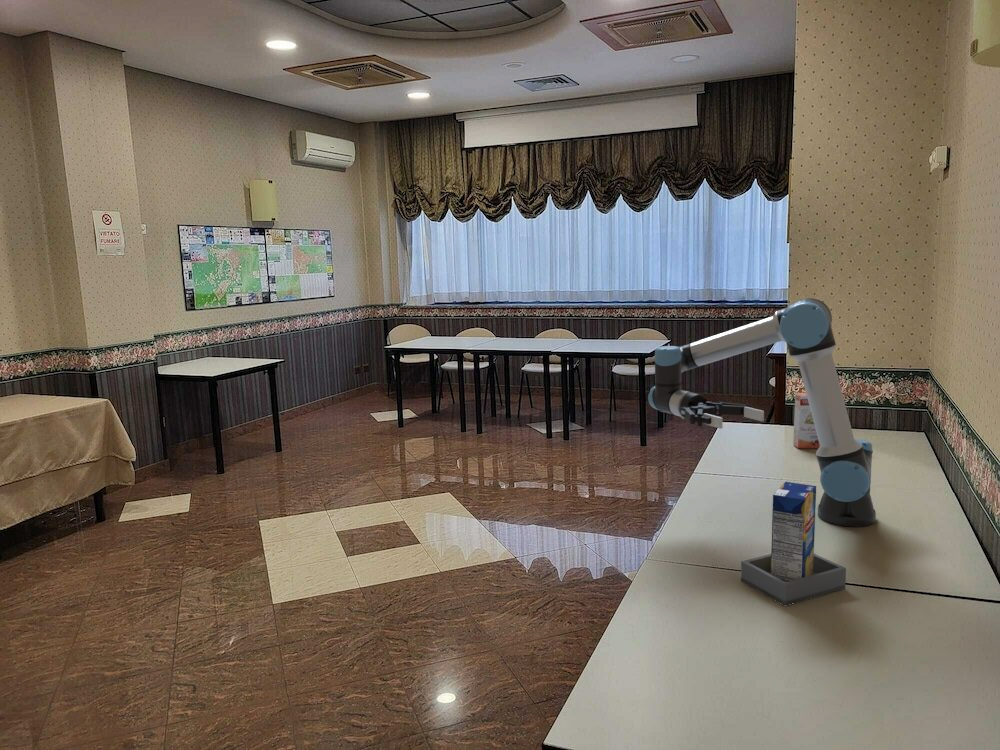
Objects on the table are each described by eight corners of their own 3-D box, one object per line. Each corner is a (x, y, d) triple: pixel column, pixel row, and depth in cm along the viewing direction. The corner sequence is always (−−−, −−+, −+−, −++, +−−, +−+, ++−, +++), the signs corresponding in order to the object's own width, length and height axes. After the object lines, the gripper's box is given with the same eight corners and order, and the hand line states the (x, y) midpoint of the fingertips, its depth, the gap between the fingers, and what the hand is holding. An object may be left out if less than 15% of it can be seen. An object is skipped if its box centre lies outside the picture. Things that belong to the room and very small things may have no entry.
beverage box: (770, 586, 171) (772, 494, 167) (783, 568, 180) (785, 481, 176) (801, 593, 167) (804, 499, 163) (813, 575, 176) (816, 485, 172)
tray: (798, 566, 183) (799, 546, 182) (845, 588, 171) (846, 568, 170) (740, 581, 176) (741, 561, 175) (784, 606, 164) (785, 584, 163)
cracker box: (798, 449, 283) (800, 395, 280) (792, 445, 289) (794, 392, 286) (835, 448, 283) (838, 394, 279) (829, 444, 289) (831, 391, 285)
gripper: (724, 412, 215) (779, 427, 196) (652, 424, 205) (703, 440, 186) (724, 387, 214) (779, 399, 195) (652, 397, 204) (703, 411, 185)
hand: (742, 419), depth 190 cm, fingers open, 13 cm apart
